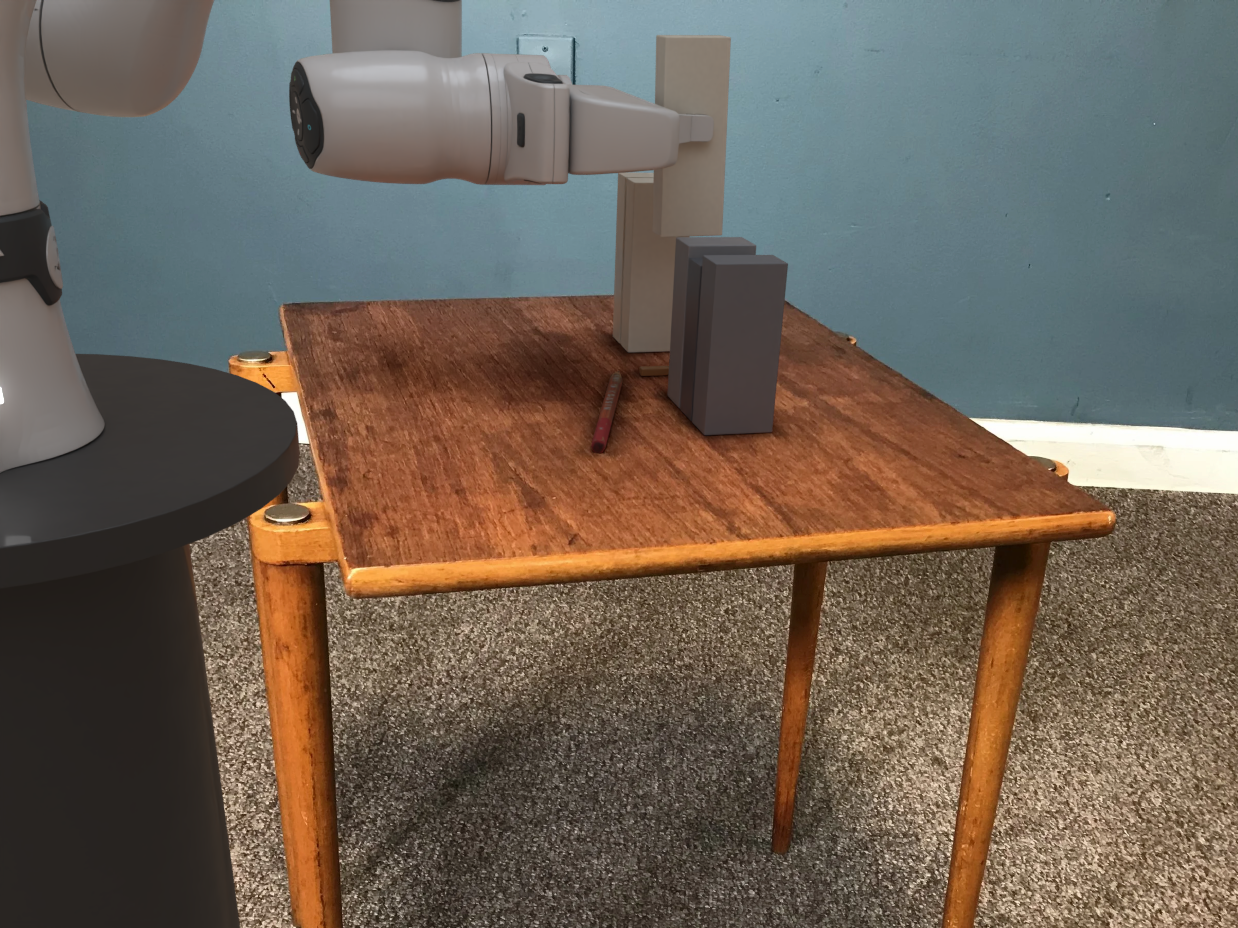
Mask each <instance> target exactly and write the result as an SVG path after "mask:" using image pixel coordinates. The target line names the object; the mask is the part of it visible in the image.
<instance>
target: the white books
mask: <svg viewBox="0 0 1238 928" xmlns="http://www.w3.org/2000/svg"><path fill="white" fill-rule="evenodd" d="M653 180H654V172H626V173H617V191H616V192H617V193H616V194H617V195H616V220H615V221H616V223H615V225H616V226H615V251H614V252H615V254H614V255H615V256H614V281H613V282H614V283H613V284H614V285H613V315H612V338H614V340H616V341H617V343H618V344H619V345H620V346H621V347H622V348H623V349H624V350H625V351H626V352H627V353H658V352H659V353H660V352H662V353H663V352H670V340H671V321H672V303H673V285H674V266H675V248H676V238H677V237H660V236H658V235H657V234H656V233H654V232H653ZM689 237H691V236H689ZM638 374H639V375H640V376H641V377H655V376H669V365H650V366H648V365H647V366H645V365H644V366H639V367H638Z"/></svg>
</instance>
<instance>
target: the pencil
mask: <svg viewBox="0 0 1238 928" xmlns="http://www.w3.org/2000/svg"><path fill="white" fill-rule="evenodd" d="M623 381H624V380H623V378H622V375H621V373H620V370H618V371H615V372H613V373H612V374H611V376H610V377H609V380H608V384H607V387H606V390H605V394H604V398H603V402H602V404H601V409H600V411H599V415H598V419H597V423H596V425H595V430H594V433H593V437H592V441H591V444H590V449H591V450H592V452H593V453H594V454H595V453H596V454H602V453H604V451H605V449H606V447H607V443H608V439H609V436H610V432H611V428H612V424H613V420H614V416H615V413H616V409H617V405H618V402H619V401H618V400H619V397H620V393H621V389H622V385H623Z"/></svg>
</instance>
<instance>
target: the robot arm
mask: <svg viewBox="0 0 1238 928" xmlns="http://www.w3.org/2000/svg"><path fill="white" fill-rule="evenodd" d="M214 3H215V0H0V473H1V472H3V471H5V470H8V469H11V468H15V467H19V466H23V465H27V464H31V463H35V462H39V461H43V460H47V459H50V458H53V457H57V456H60V455H63V454H65V453H68V452H71V451H73V450H76V449H78V448H80V447H82V446H84V445H86V444H88V443H89V442H91V441H93V440H94V439H95V438H96V437H98V436H99V435H100V434H101V432H102V431H103V429H104V426H105V422H104V420H103V418H102V416H101V414H100V412H99V410H98V408H97V406H96V404H95V402H94V400H93V398H92V396H91V393H90V391H89V389H88V386H87V384H86V381H85V379H84V376H83V374H82V371H81V369H80V366H79V363H78V360H77V357H76V354H77V353H76V352H75V348H74V345H73V341H72V338H71V336H70V332H69V329H68V325H67V323H66V318H65V315H64V311H63V306H62V302H61V298H62V296H63V287H64V280H63V274H62V267H61V260H60V254H59V247H58V242H57V237H56V231H55V230H56V229H55V226H54V225H52V220H51V215H50V211H49V207H48V205H47V204H46V203H45V202H44V201H42V200H40V196H39V191H38V184H37V177H36V171H35V164H34V158H33V157H34V155H33V150H32V142H31V135H30V134H31V133H30V124H29V116H28V106H27V105H28V103H27V101H29V102H33V103H36V104H40V105H44V106H48V107H52V108H55V109H59V110H61V109H62V110H66V111H71V112H77V113H83V114H88V115H94V116H95V115H96V116H102V117H111V118H141V117H142V118H143V117H148V116H151V115H154V114H155V113H158V112H160V111H162V110H163V109H165V108H166V107H168V106H170V104H171V103H173V102H174V101H175V100H176V99H177V98H178V97H179V96H180V94H181V93H182V92H183V91H184V89H185V88H186V87H187V85H188V83H189V81H191V79H192V77H193V75H194V72H195V70H196V68H197V65H198V64H199V60H200V58H201V56H202V55H201V54H202V51H203V46H204V42H205V37H206V31H207V27H208V24H209V21H210V20H209V19H210V15H211V13H212V9H213V6H214ZM329 12H330V13H329V14H330V16H329V17H330V31H331V32H330V33H331V51H332V53H325V54H316V55H310V56H305V57H301V58H299V59H297V60H296V62H295V63H294V64H293V67H292V70H291V73H290V81H289V83H288V84H289V87H288V101H289V115H290V121H291V128H292V131H293V133H294V134H293V135H294V142H295V145H296V149H297V151H298V155H299V156H300V158H301V160H302V161H303V162H304V164H305V165H306V167H307V168H308V170H310V171H312V172H314V173H316V174H319V175H324V176H327V177H334V178H339V179H346V180H352V181H360V182H367V183H369V182H371V183H381V184H397V185H428V184H431V183H434V182H437V181H441V180H461V181H465V182H468V183H471V184H475V185H479V186H484V185H485V186H546V185H565V184H567V183H568V181H569V175H571V176H572V175H573V176H591V175H592V176H593V175H594V176H595V175H613V174H618V173H640V172H649V171H654V170H658V169H663V168H667V167H670V166H673V165H674V164H676V162H677V158H678V146H679V144H681V143H686V142H708V141H710V140H711V139H712V137H713V128H714V120H713V118H712V117H711V116H708V115H705V114H678V113H677V112H676V111H673V110H670V109H667V108H665V107H662V106H659V105H657V104H655V102H652V101H649V100H646V99H644V98H640V97H639V96H636V95H633V94H630V93H628V92H625V91H624V90H620V89H617V88H615V87H612V86H609V85H602V84H600V85H598V84H573V82H572V80H571V78H570V77H569V75H567V74H556V72H555V70H553V68H552V66H551V64H550V61H549V59H548V58H547V56H545V55H544V54H543V55H542V54H519V53H489V52H474V53H468V54H466V55H463V45H462V44H463V0H329Z"/></svg>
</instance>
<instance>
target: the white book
mask: <svg viewBox="0 0 1238 928" xmlns="http://www.w3.org/2000/svg"><path fill="white" fill-rule="evenodd" d="M731 43H732V37H731V36H726V35H721V34H657V35H656V36H655V77H654V78H655V82H654V85H655V86H654V91H655V92H654V104H657V105H659V106H662V107H665V108H667V109H670V110H673V111H676V112H677V113H678V114H705V115H708V116H711V117H712V118H713V120H714V128H713V137H712V139H711V140H710V141H708V142H686V143H681V144H679V146H678V158H677V162H676V164H674V165H673V166H670V167H667V168H663V169H658V170H653V173H654V180H653V232H654V233H656V234H657V235H658V236H660V237H689V236H690V237H718V236H723V227H724V225H723V224H724V202H725V201H724V200H725V183H726V181H725V178H726V160H727V159H726V157H727V138H728V137H727V135H728V110H729V93H730V91H729V90H730V89H729V88H730V68H731V67H730V66H731Z"/></svg>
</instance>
